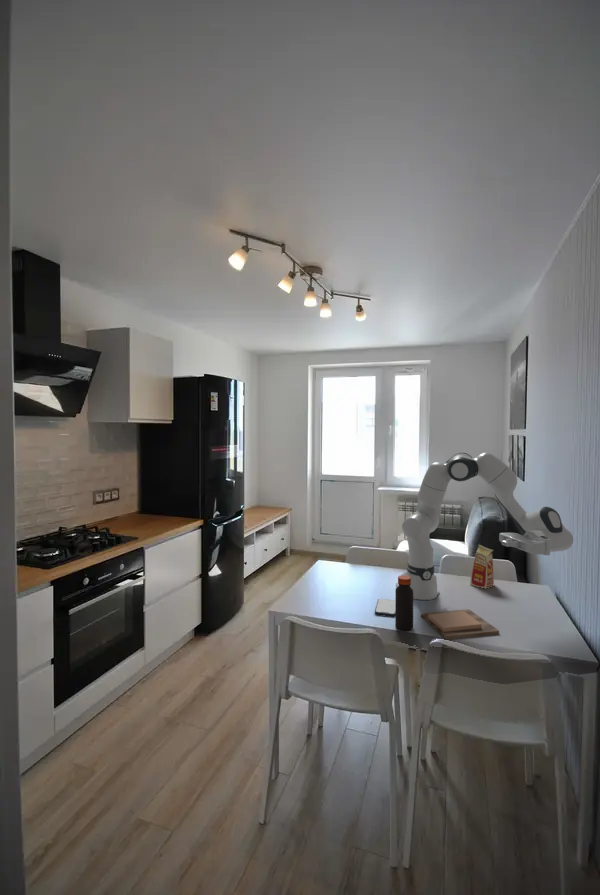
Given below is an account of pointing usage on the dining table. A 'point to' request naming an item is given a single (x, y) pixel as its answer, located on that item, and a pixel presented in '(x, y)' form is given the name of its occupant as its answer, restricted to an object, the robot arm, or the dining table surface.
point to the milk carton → (482, 568)
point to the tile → (454, 621)
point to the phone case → (385, 607)
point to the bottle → (404, 604)
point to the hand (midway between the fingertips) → (503, 543)
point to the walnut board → (485, 630)
